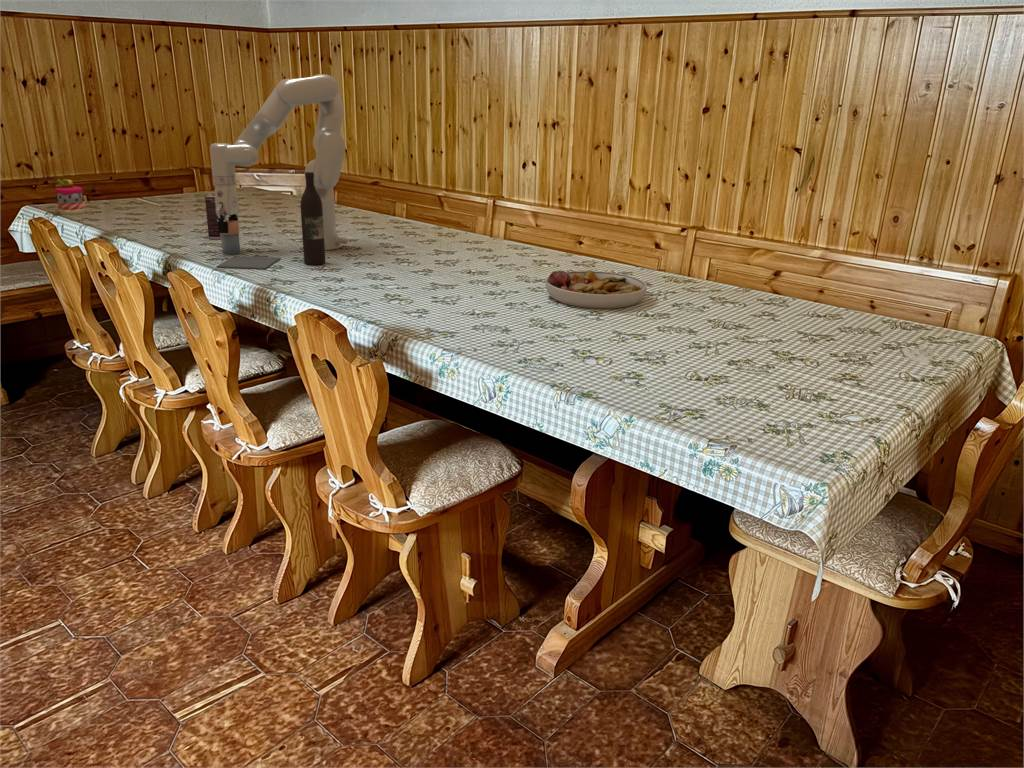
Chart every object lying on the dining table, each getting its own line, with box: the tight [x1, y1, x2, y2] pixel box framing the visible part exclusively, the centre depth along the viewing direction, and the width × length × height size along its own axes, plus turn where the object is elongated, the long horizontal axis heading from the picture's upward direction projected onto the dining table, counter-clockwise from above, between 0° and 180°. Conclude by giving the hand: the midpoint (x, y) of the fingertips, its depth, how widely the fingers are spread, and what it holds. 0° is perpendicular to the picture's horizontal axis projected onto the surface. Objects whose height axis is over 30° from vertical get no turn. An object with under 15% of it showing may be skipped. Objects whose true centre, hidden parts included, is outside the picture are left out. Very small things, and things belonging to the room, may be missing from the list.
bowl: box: [544, 269, 648, 310], centre depth 234 cm, size 30×30×8 cm
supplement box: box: [204, 193, 224, 240], centre depth 302 cm, size 9×5×16 cm, turn 179°
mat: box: [216, 255, 282, 271], centre depth 264 cm, size 16×16×1 cm
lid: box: [220, 219, 240, 235], centre depth 276 cm, size 7×7×4 cm
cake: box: [54, 178, 86, 216], centre depth 343 cm, size 10×11×15 cm
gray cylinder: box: [220, 233, 241, 255], centre depth 278 cm, size 6×6×7 cm
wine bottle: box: [300, 172, 326, 266], centre depth 262 cm, size 7×7×30 cm
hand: (228, 230), depth 276 cm, fingers open, 9 cm apart
